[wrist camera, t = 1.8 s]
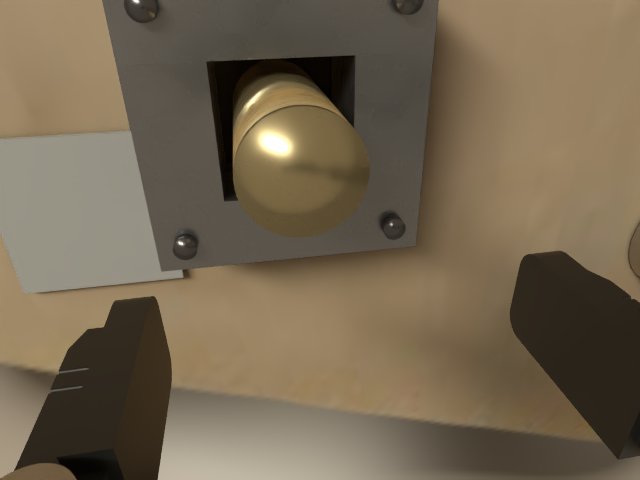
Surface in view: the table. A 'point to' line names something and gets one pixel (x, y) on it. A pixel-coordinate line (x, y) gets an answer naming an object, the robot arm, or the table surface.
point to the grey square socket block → (205, 124)
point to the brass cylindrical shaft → (294, 153)
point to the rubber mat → (76, 212)
